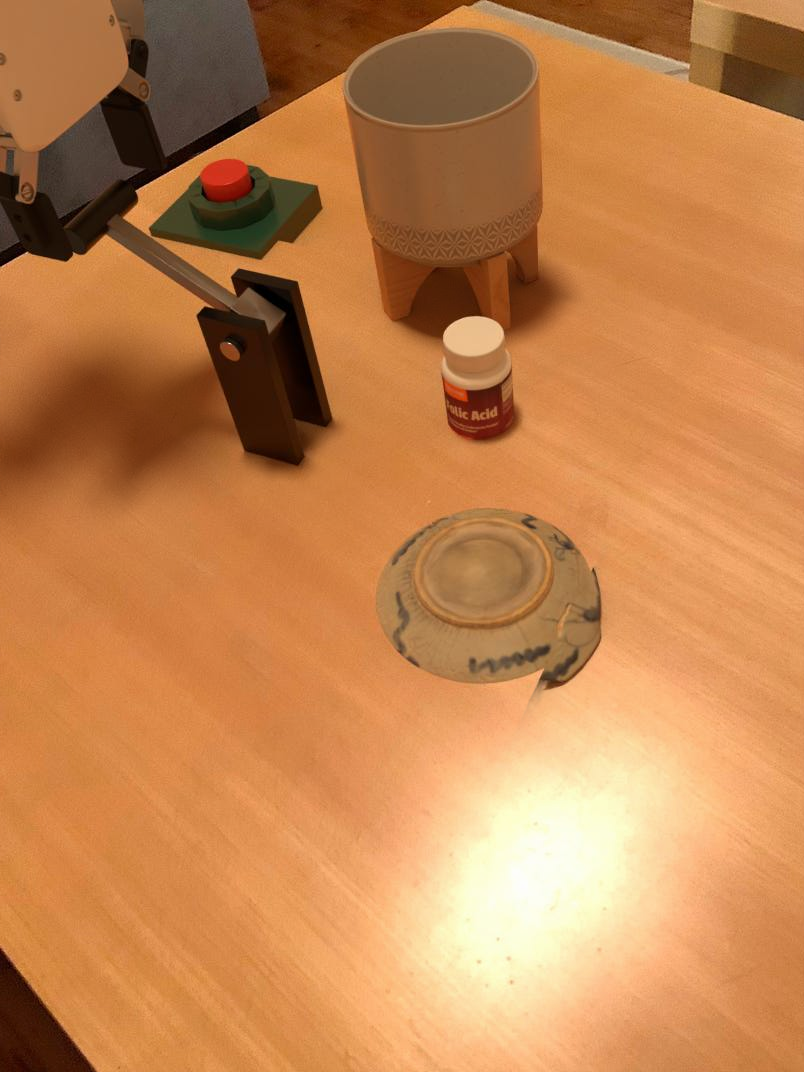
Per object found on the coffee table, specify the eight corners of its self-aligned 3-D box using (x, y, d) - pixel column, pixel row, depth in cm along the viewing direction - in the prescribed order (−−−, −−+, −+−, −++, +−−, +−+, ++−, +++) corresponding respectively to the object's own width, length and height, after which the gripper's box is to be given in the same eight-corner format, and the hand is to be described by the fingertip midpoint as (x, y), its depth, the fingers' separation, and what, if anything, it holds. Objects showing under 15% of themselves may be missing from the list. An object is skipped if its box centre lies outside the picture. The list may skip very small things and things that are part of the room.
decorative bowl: (523, 750, 59) (652, 570, 66) (519, 717, 56) (654, 531, 63) (320, 640, 65) (457, 485, 71) (307, 605, 62) (451, 446, 68)
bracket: (189, 471, 74) (125, 322, 64) (254, 390, 79) (205, 239, 68) (336, 514, 71) (294, 364, 60) (395, 427, 75) (366, 273, 65)
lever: (58, 246, 63) (60, 219, 61) (111, 197, 66) (115, 169, 64) (247, 373, 65) (255, 351, 63) (290, 320, 68) (299, 297, 66)
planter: (576, 316, 81) (576, 84, 66) (427, 377, 78) (394, 149, 63) (495, 234, 88) (480, 8, 73) (356, 288, 85) (311, 64, 70)
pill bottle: (441, 450, 73) (428, 355, 67) (458, 404, 76) (446, 308, 69) (507, 458, 72) (500, 363, 66) (522, 412, 75) (517, 315, 68)
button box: (156, 250, 90) (141, 208, 87) (218, 187, 95) (205, 145, 92) (265, 274, 87) (253, 231, 84) (322, 208, 92) (313, 165, 89)
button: (196, 200, 88) (190, 180, 86) (222, 174, 90) (216, 155, 88) (237, 208, 87) (231, 188, 85) (261, 182, 89) (256, 162, 87)
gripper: (16, -190, 55) (131, 127, 69) (-229, -50, 46) (-40, 281, 60) (132, -183, 53) (227, 143, 67) (-103, -34, 44) (62, 306, 58)
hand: (100, 209), depth 63 cm, fingers open, 9 cm apart
